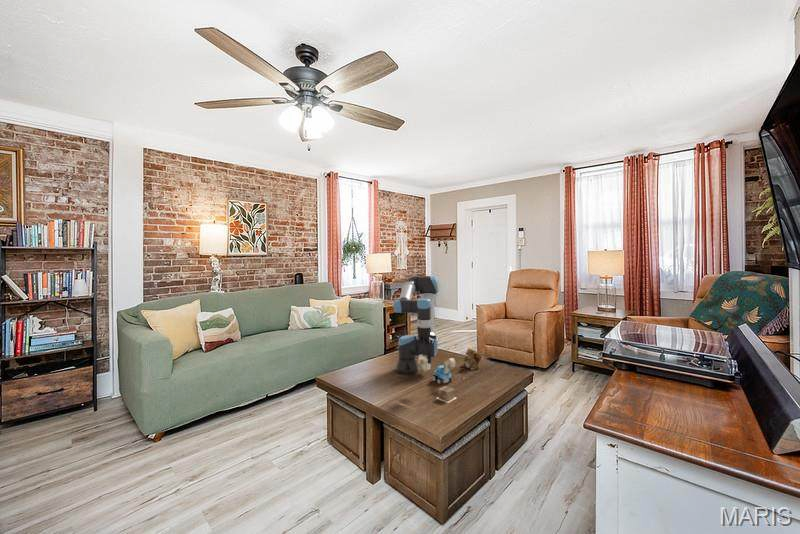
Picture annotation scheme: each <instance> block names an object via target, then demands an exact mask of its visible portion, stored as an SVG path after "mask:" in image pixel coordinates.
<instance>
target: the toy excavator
mask: <svg viewBox="0 0 800 534" xmlns="http://www.w3.org/2000/svg"><path fill="white" fill-rule="evenodd" d="M454 367H456V360H455V358H453V357H451V358H448V359H447V360H445V361H444V363H443V365H438V366H436V367H435V370H434V372H433V375H432V376H431V377H432V381H433V382H436V383H437V384H438V385H443V384H447V383H452V382H453V380H452V379H453V378H452V374H451V373H450V369H449V368H454Z"/></svg>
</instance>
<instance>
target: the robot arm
mask: <svg viewBox="0 0 800 534" xmlns="http://www.w3.org/2000/svg"><path fill="white" fill-rule="evenodd" d="M437 280H438V279H437V277H436V276H432V275H422V276H421V275H415V276H409V277H408V278H406V279H405V280H404V281H403V282H402V284H401V288H400V289H401V291H400V294H399V295H400V296H399V298H398V299H394V301H393V307H392V309H393V311H394V313H396V314H397V313H399V314H405V313H406V314H409V313H410V314H411V313H412V314H417V316H416V317H417V318H416V320H417V321H416V322H417V323H416V324H417V328H416V329H417V330H416V331H417V334H416V335H414V334H406V335H402V336H400V337H399V338H398V342H397V343H398V344H397V346H398V360H397V365H396V367H395V368H396V370H395V371H396V372H397V373H399V374H402V375H412V374H416V373H418V372H419V371H420V370H419V369H418V360H417V359H418V358H422V357H426V369H427V371H429V370H428V369H430V363H431V364H432V358H434V357H435V356H437V354H438V346H439V338H438V337H437V334H435V297H436V296H437V294H438V293H439V286H438V281H437ZM416 293H418V294H419V297H420V298H418V299H412V298H413V294H416ZM430 370H431V369H430Z"/></svg>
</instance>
